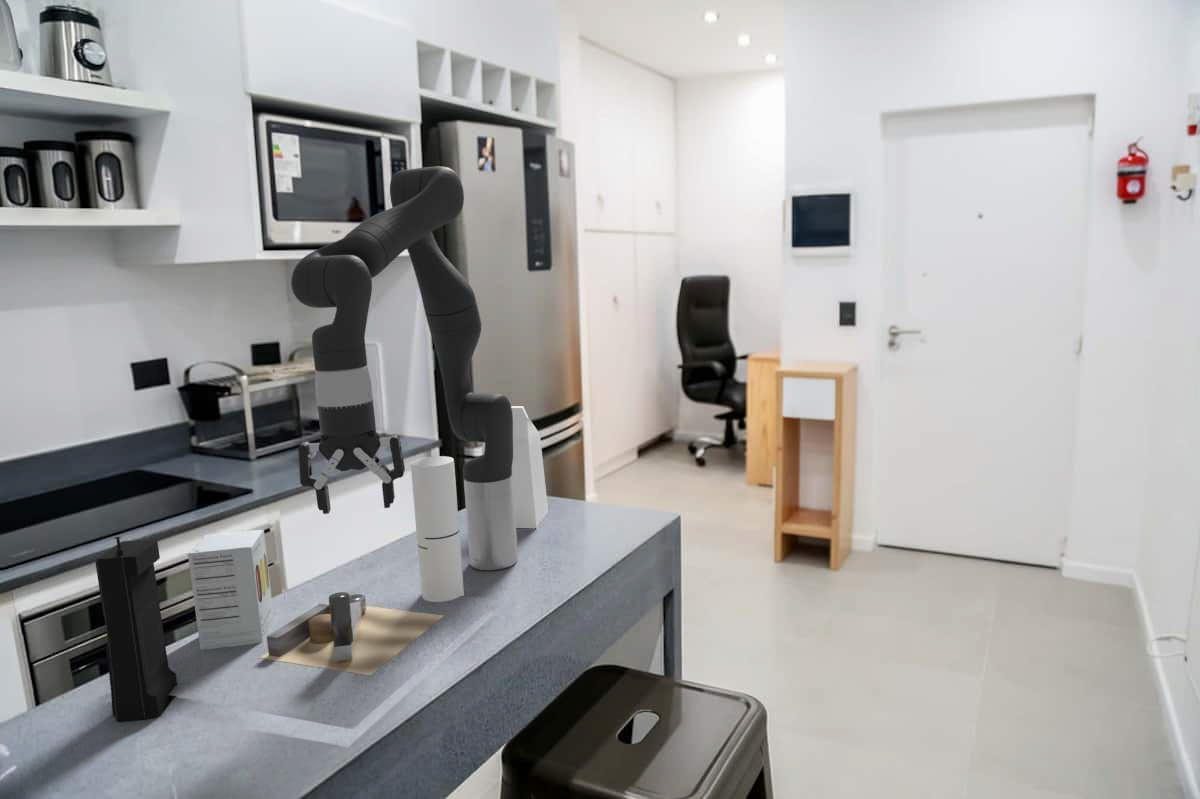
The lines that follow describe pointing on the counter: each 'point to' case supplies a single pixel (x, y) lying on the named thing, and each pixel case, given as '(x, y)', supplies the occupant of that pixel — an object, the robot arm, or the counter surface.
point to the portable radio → (134, 631)
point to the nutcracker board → (374, 644)
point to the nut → (320, 629)
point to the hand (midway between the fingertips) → (357, 509)
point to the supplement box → (231, 589)
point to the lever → (345, 622)
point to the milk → (527, 472)
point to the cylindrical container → (437, 528)
